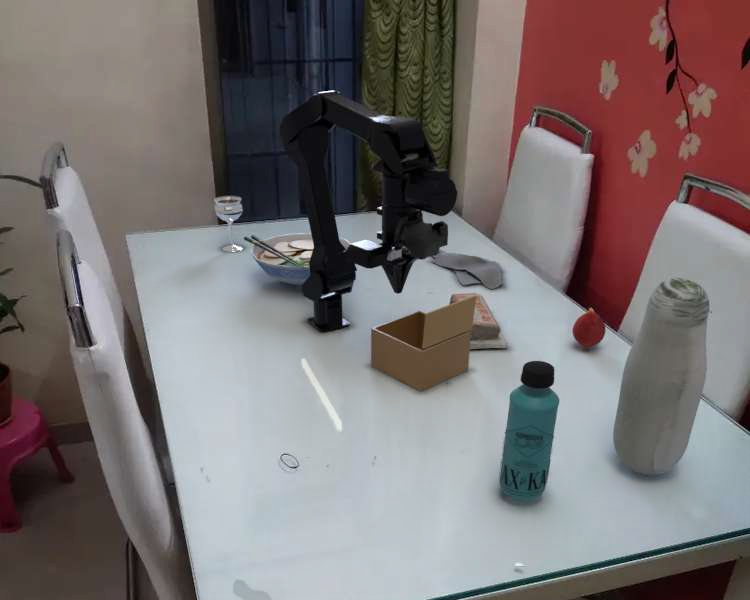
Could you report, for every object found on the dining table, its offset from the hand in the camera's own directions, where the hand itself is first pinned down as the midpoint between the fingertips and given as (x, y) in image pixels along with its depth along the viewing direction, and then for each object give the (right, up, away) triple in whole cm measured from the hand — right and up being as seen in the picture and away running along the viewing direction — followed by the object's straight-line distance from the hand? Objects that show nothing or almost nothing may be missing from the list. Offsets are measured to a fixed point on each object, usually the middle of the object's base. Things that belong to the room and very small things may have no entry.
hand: (397, 292), depth 137 cm
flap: (+8, -6, -7) cm, 12 cm away
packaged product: (+15, -4, +17) cm, 23 cm away
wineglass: (-40, +23, +58) cm, 74 cm away
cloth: (+18, +15, +46) cm, 51 cm away
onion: (+36, -9, +10) cm, 38 cm away
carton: (+4, -13, +3) cm, 14 cm away
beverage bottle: (+16, -34, -29) cm, 48 cm away
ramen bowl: (-20, +11, +39) cm, 45 cm away
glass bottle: (+35, -30, -23) cm, 52 cm away
